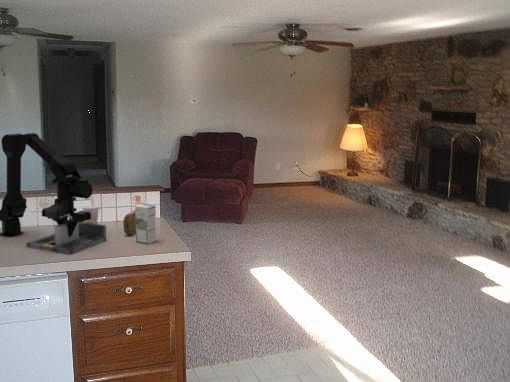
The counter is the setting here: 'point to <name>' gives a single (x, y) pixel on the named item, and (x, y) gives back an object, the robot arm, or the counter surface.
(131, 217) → the tin
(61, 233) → the panel
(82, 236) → the rack
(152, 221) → the syrup box
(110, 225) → the counter surface
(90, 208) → the smoothie
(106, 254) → the counter surface
